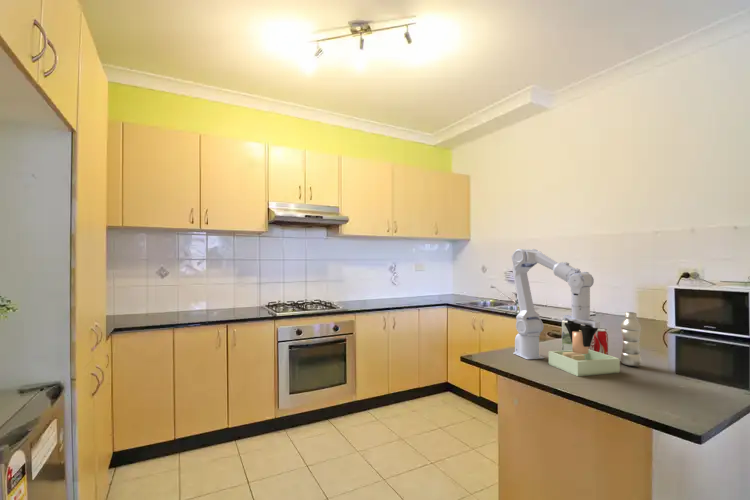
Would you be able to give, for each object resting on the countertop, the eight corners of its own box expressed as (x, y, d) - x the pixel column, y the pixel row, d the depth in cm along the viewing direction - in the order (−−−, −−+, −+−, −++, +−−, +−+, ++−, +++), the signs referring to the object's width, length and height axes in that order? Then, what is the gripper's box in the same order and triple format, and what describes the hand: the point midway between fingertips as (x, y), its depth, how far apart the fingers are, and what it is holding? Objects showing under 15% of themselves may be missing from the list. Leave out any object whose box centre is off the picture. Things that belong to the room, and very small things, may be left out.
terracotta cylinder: (569, 350, 131) (569, 331, 131) (580, 349, 133) (580, 330, 133) (580, 354, 126) (580, 334, 127) (592, 353, 128) (591, 333, 128)
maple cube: (562, 366, 135) (562, 352, 135) (573, 365, 136) (573, 351, 136) (573, 370, 130) (573, 356, 130) (584, 369, 131) (584, 355, 131)
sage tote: (548, 364, 139) (548, 351, 139) (587, 361, 143) (587, 348, 143) (577, 376, 125) (577, 361, 125) (619, 372, 130) (619, 358, 130)
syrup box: (578, 355, 153) (578, 320, 153) (577, 358, 148) (577, 322, 148) (562, 352, 156) (562, 318, 156) (561, 356, 151) (561, 320, 151)
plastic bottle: (634, 363, 142) (634, 311, 142) (645, 368, 135) (645, 314, 135) (616, 362, 142) (616, 311, 142) (626, 367, 135) (626, 313, 136)
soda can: (607, 362, 142) (607, 331, 142) (586, 359, 146) (586, 329, 146) (609, 358, 148) (609, 329, 148) (588, 355, 152) (588, 326, 152)
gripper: (556, 303, 136) (556, 340, 136) (587, 309, 122) (587, 350, 122) (572, 303, 138) (572, 339, 137) (605, 308, 124) (604, 349, 123)
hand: (580, 344), depth 130 cm, fingers closed on terracotta cylinder, 5 cm apart
